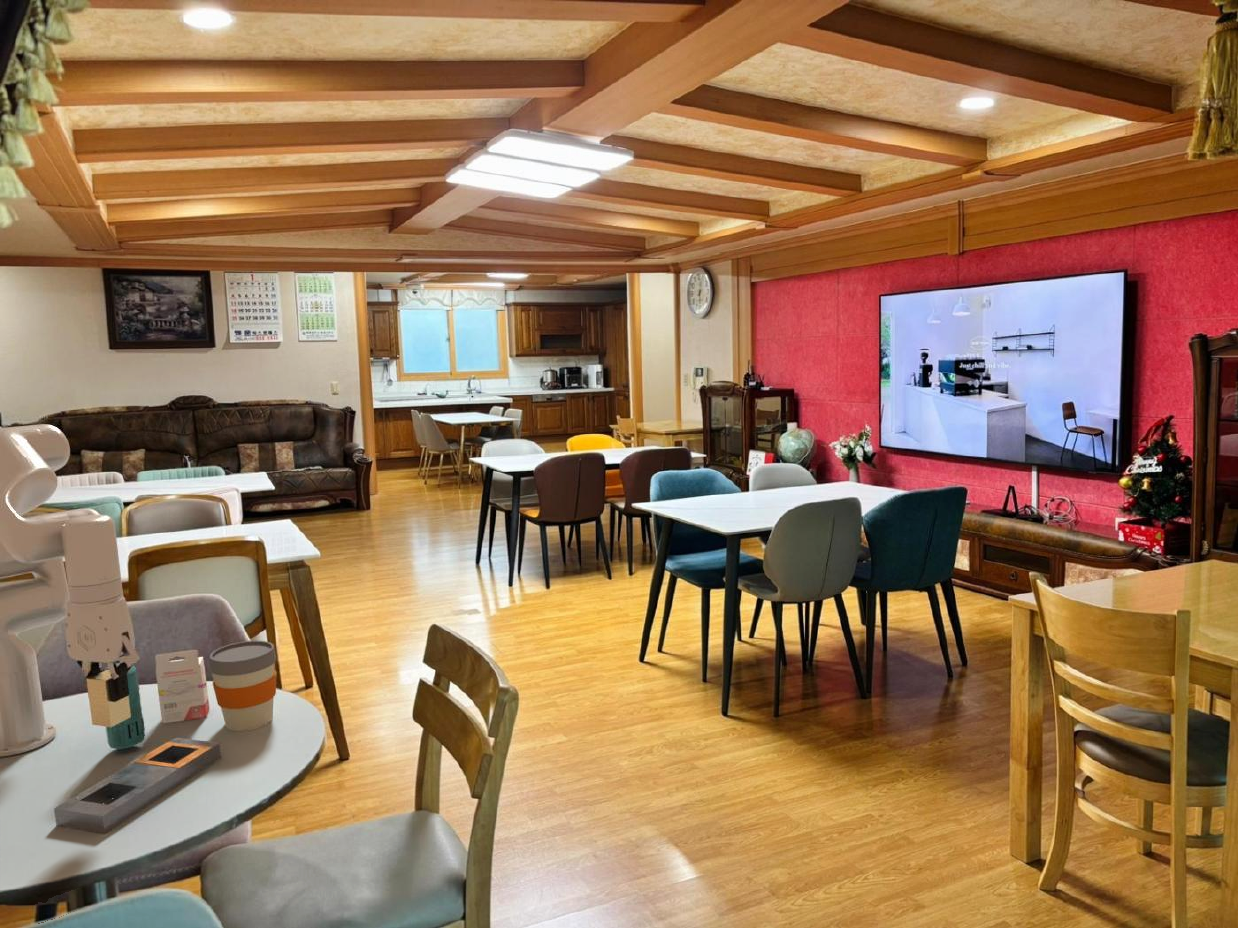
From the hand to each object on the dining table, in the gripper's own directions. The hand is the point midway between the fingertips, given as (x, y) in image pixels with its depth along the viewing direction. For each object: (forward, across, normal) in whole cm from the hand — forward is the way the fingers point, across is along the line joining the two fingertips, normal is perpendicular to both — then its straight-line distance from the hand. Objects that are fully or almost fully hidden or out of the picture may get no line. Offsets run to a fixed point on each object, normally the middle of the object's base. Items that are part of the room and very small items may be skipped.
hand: (109, 696), depth 149 cm
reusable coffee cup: (+19, -1, +32) cm, 38 cm away
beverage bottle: (+19, -16, +16) cm, 30 cm away
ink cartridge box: (+19, -16, +31) cm, 40 cm away
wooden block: (+4, 0, 0) cm, 4 cm away
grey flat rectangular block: (+19, 0, +5) cm, 20 cm away
